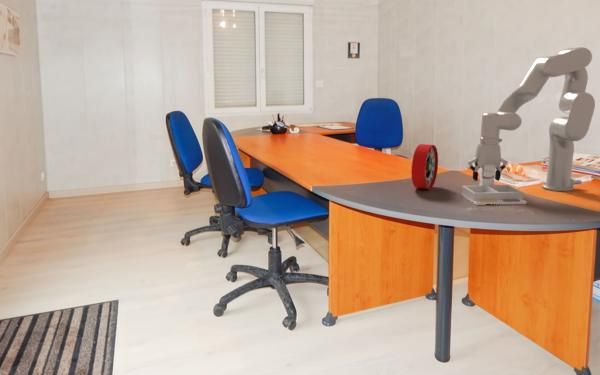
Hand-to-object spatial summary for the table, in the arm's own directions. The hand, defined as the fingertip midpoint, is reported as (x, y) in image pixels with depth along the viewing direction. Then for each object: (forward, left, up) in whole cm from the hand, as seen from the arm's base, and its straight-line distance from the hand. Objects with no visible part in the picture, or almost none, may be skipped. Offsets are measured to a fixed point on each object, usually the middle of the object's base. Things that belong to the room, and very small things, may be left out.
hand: (486, 180), depth 218 cm
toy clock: (+26, -6, -5) cm, 27 cm away
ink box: (0, 0, -5) cm, 5 cm away
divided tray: (+4, +17, -4) cm, 17 cm away
